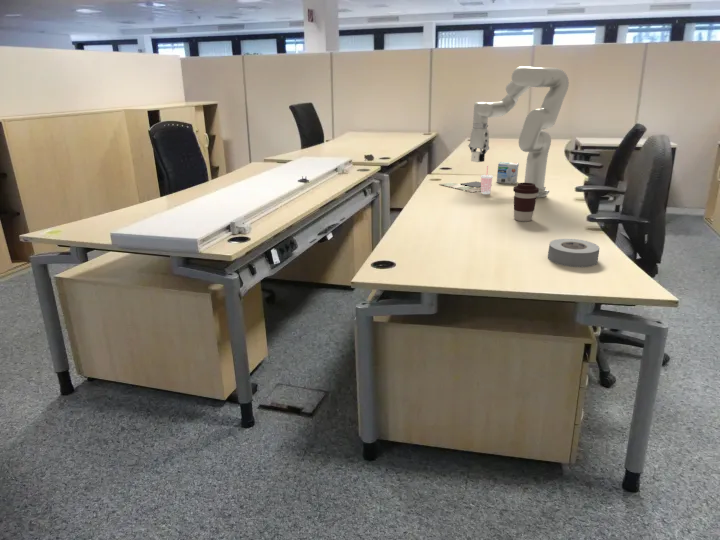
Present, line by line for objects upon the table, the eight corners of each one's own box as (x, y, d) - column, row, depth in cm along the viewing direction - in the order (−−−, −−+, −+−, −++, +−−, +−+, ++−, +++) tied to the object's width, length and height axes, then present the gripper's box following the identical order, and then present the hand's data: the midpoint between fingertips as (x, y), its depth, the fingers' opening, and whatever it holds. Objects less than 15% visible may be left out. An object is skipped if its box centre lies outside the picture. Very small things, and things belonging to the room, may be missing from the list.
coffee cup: (522, 223, 217) (526, 187, 212) (505, 218, 225) (508, 183, 220) (540, 220, 221) (544, 184, 216) (523, 215, 229) (526, 180, 224)
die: (484, 161, 290) (485, 151, 288) (477, 162, 287) (478, 152, 285) (477, 160, 294) (478, 150, 292) (470, 161, 291) (471, 151, 289)
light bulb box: (496, 182, 301) (497, 163, 297) (498, 180, 307) (499, 161, 303) (515, 183, 297) (517, 164, 293) (517, 181, 303) (519, 162, 299)
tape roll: (587, 271, 165) (589, 255, 163) (539, 260, 174) (541, 245, 172) (604, 259, 175) (606, 244, 174) (558, 249, 185) (560, 235, 183)
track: (484, 190, 280) (484, 189, 280) (472, 192, 275) (472, 191, 275) (451, 183, 300) (451, 182, 300) (438, 184, 296) (438, 184, 296)
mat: (491, 185, 293) (491, 184, 293) (475, 187, 287) (475, 187, 287) (476, 182, 302) (476, 181, 302) (460, 184, 296) (460, 183, 296)
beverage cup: (489, 192, 277) (491, 164, 272) (493, 194, 271) (495, 166, 266) (478, 192, 276) (480, 165, 272) (481, 194, 271) (483, 166, 266)
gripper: (496, 127, 279) (494, 162, 285) (473, 124, 293) (471, 158, 299) (486, 127, 275) (484, 163, 281) (463, 125, 289) (461, 159, 295)
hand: (477, 160), depth 290 cm, fingers closed on die, 5 cm apart
